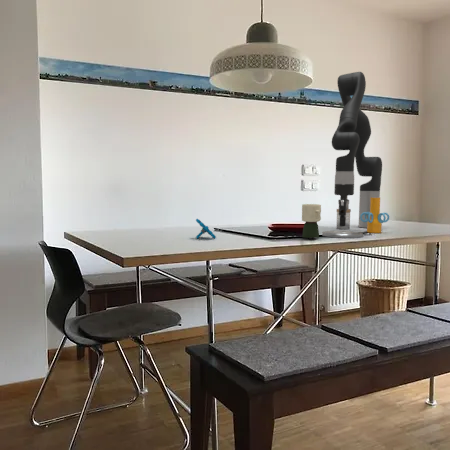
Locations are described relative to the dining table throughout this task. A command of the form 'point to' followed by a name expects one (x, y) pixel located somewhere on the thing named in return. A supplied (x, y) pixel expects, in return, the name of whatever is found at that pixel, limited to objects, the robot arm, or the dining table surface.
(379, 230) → the orange block with rings
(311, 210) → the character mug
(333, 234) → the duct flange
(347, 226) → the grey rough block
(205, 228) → the blue piece
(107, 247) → the dining table surface
